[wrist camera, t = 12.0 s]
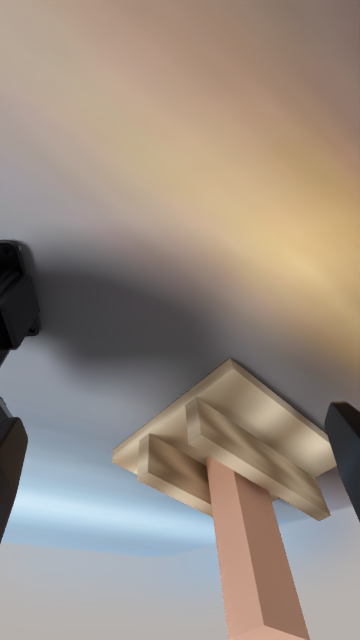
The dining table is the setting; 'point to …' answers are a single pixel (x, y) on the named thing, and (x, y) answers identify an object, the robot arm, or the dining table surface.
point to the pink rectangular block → (252, 560)
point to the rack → (231, 443)
